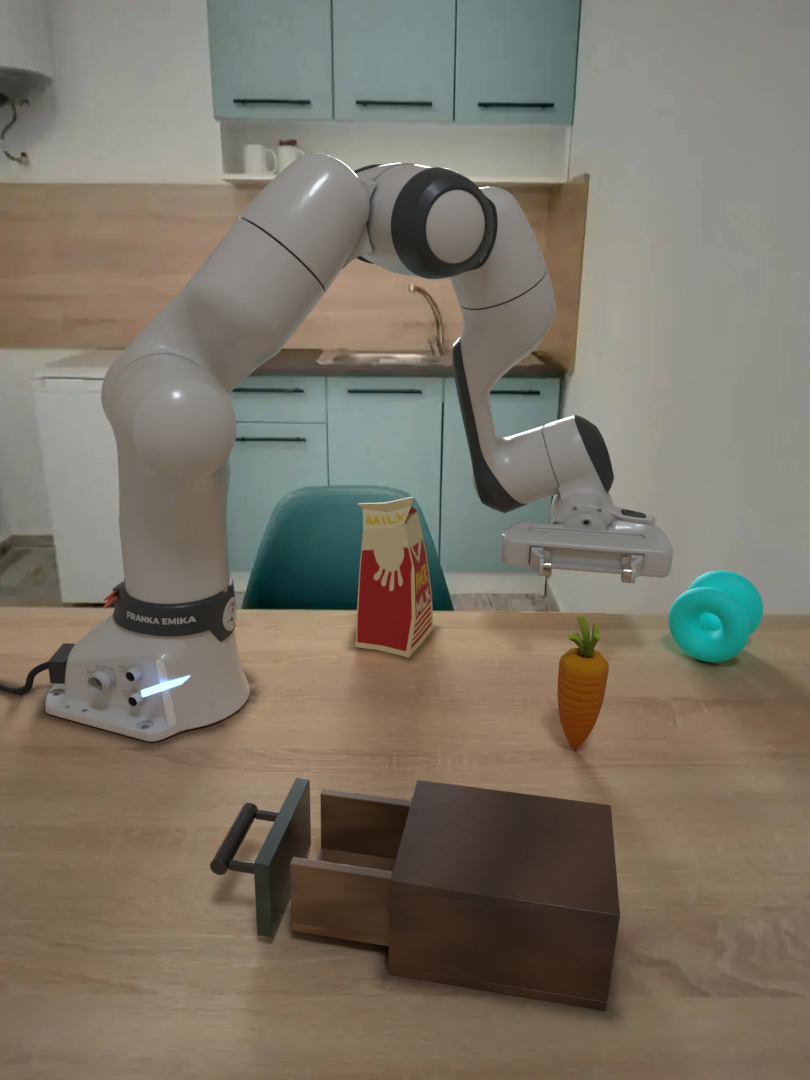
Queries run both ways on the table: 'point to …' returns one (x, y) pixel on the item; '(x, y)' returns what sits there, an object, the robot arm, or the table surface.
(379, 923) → the drawer
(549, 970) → the cabinet
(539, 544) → the robot arm
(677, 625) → the turquoise spool
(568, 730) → the carrot
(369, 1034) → the table surface
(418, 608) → the milk carton
